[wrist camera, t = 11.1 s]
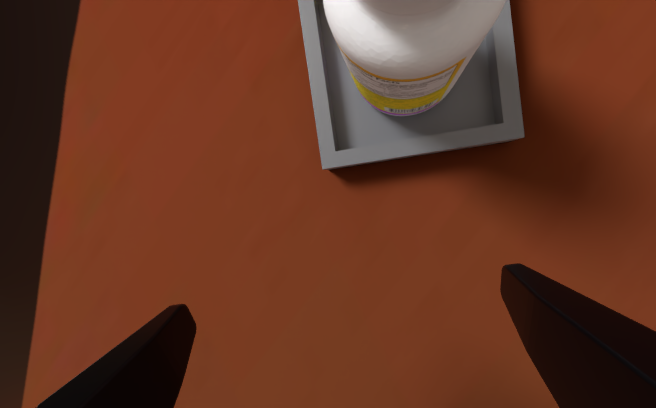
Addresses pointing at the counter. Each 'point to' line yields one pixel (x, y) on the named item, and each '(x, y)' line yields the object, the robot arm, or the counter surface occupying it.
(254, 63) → the counter surface
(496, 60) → the tray
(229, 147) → the counter surface
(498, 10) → the supplement bottle
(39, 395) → the counter surface
